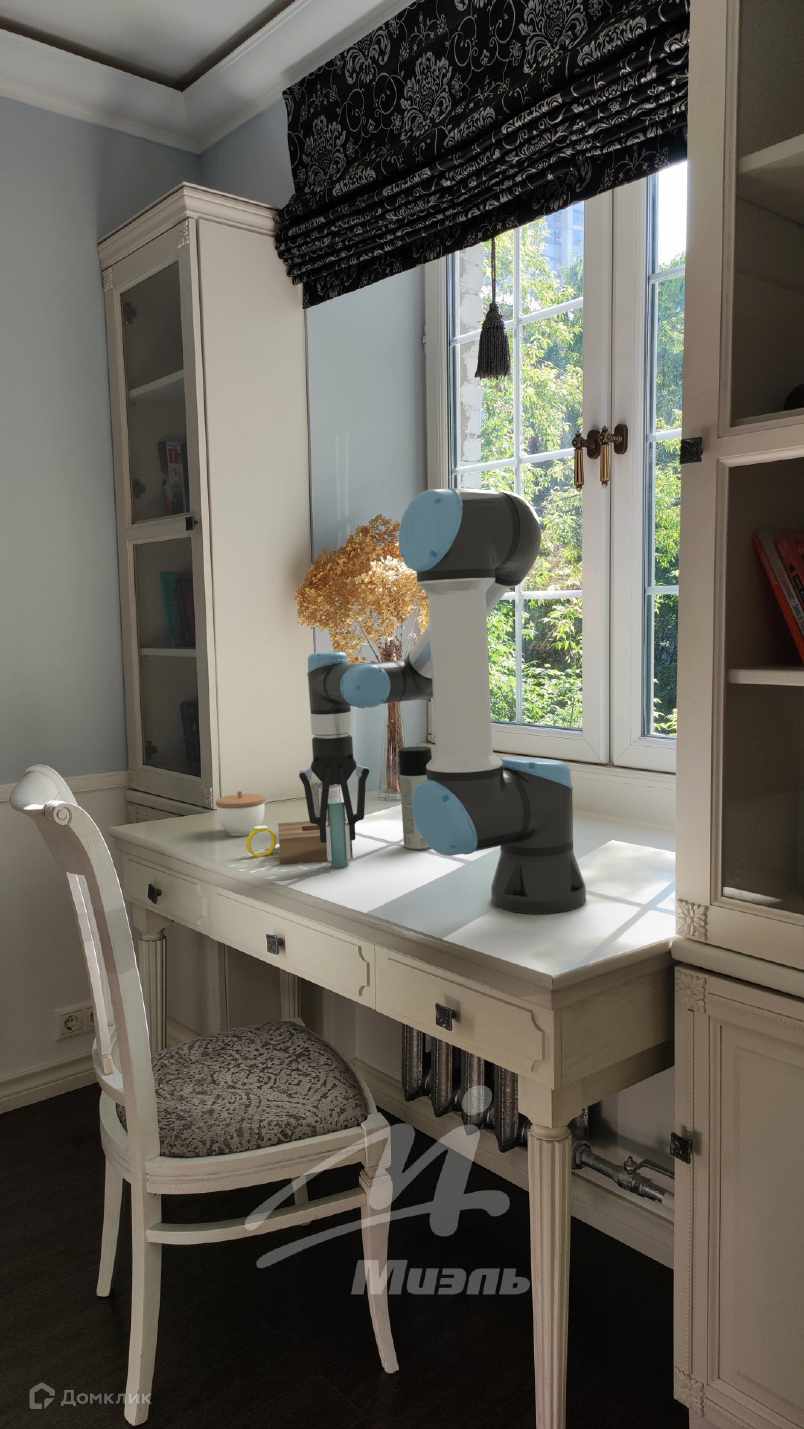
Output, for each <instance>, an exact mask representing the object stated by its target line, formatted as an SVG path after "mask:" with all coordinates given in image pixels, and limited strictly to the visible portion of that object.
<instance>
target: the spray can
mask: <svg viewBox="0 0 804 1429" xmlns="http://www.w3.org/2000/svg"><path fill="white" fill-rule="evenodd" d="M432 756H433V755H432V748H431V746H427V745H426V746H423V745H422V746H418V745H417V746H416V745H415V746H404V747H402V748H400V749H399V750H398V764H399V765H398V766H399V770H398V771H399V784H400V802H401V803H400V804H401V819H402V834H403V836H402V837H403V846H404V848H406V849H407V850H413V851H415V850H416V851H418V850H419V851H421V850H423V851H424V850H429V849H432V848H431V847H430V846H429V845H428V844H427V843H426V842H425V840H424V838H423V837H422V836H421V834H420V833H419V831H418V828H417V826H416V823H415V820H414V816H413V810H412V798H413V794H414V793H415V789H416V787H417V786H418V785H419V784H421V783H422V782H423V781H426V780H427V773H426V765H427V764H428V763H429V762H430V760H431V759H432V758H433V757H432Z"/></svg>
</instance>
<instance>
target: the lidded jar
mask: <svg viewBox="0 0 804 1429" xmlns="http://www.w3.org/2000/svg"><path fill="white" fill-rule="evenodd" d="M265 802H266V798H265V796H264V795H262V794H257V793H243V790H238V791H237V794H230V795H226V796H222V797H220V798H217V799H216V800H215V805H216V806H215V807H216V813H217V819H218V821H219V824H220V826H221V827H222V828H223V830H225V832H227V833H228V835H229V836H233V837H240V836H241V837H242V836H249V834H250V833H251V832H252V831H253V830H254V827H255V826H262V824H263V823H264V820H265V815H266V806H265V805H266V804H265Z"/></svg>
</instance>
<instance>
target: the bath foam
mask: <svg viewBox="0 0 804 1429" xmlns="http://www.w3.org/2000/svg"><path fill="white" fill-rule="evenodd" d="M310 785H311V791H312V797H313V804H314V810H315V816H317V817H319V814H320V803H321V791H322V782H321V781H320V780H319V779H318V777H317V776H316V775H315V774H314V773H312V780H311V781H310ZM331 802H344V800H343V795H342V790H341V786H340V785H338V784H333V785H330V786H329V795H328V803H331ZM326 819H328V808H327V818H326Z"/></svg>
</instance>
